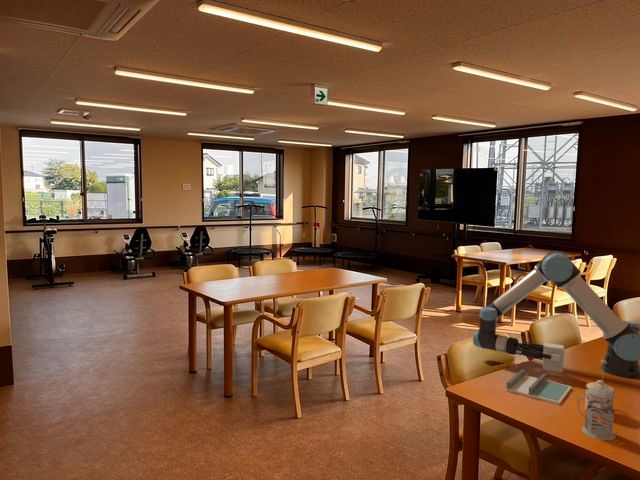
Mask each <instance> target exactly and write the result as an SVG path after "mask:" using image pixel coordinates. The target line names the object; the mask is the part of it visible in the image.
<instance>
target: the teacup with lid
mask: <svg viewBox="0 0 640 480" xmlns="http://www.w3.org/2000/svg"><path fill="white" fill-rule="evenodd" d="M594 387H602V388H605V389H608V390H610V391H612V392H613V393H614V394H615V390H614V388H613V387H612V386H610V385H608V384H606V383H604V381H603V383H602V379H597V381H595V382H589V383H586V385H585V390H586V391H585V397H586V396H587V395H588V397H589V400H588V399H587V397H586V398H584V400H585V401H584V410H585V411H586V412H587V406H588V405H589V404H588V402H589V401H592V400H595V401H600V400H601V401H603V402H605V403H608V404H611V405H612V406H614V405H613V403H614V399H602V398H598V397H595V396H592V395H590V394H589V393H588V389H590V388H594ZM591 409H595V408H593V407H592V408H590V409H589V410H591ZM596 410H598V411H600V412H601V413H603V414H605V415H609V414H607V413H605V412H603V411H601V410H599V409H596ZM593 412H595V413H598V412H596V411H593ZM599 414H600V413H599Z"/></svg>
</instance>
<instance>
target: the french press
mask: <svg viewBox="0 0 640 480" xmlns="http://www.w3.org/2000/svg"><path fill="white" fill-rule="evenodd" d="M601 364H603V370H602V371H604V364H607V361H606V360H603V359H601V361H600V365H601ZM601 375H602V377H601V378H602V379H601V380H602V383H603V382H604V374H601ZM588 393H589V394H590V395H592V396H595V397H598V398H602V399H613V400H614V399H615V398H616V396H617V395H616V394H615V392H614V393H613V392H612V391H610V390H608V389H605V388H602V387H594V388H590V389H588ZM586 397H587V399H588V400H589V397H588V395H587V396H586V394H583V395H581V396H580V397H579V398H578V399H577V404H576V405H577V406H576V407H577V410H578V411H579V414H580V415H581V416H583V417H584V419H585V420H584V426H582V427H581V431H582V432H583V433H584V434H585V435H587V436H588V437H590V438H593V439H597V440H601V441H613V440H615V439H616V434H615V433H614V432H613V428H614V415H615V413H614V410H613V409H614V407H613V406H614V405H613V406H612V405H611V404H608V403H605V402H603V401H601V400H600V401H595V400H592V401H589V402H588V404H589V405H588V406H587V411H586V414H584V413H583V412H582V411H581V410H580V404H581V401H582V400H585V399H586ZM592 407H593V408H595V409H591V410H589V409H590V408H592ZM596 409H599V410H601V411H603V412H605V413H607V414H609V415H605V414H603V413H601V412H600V411H598V410H596ZM593 411H596V412H598V413H595V412H593ZM599 413H600V414H599Z"/></svg>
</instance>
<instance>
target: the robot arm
mask: <svg viewBox="0 0 640 480" xmlns="http://www.w3.org/2000/svg"><path fill="white" fill-rule="evenodd" d="M581 273H582V271H581V270H580V269H579V268H578V267H577V266H576V265H575V264H574V263H573V261H572V260H571V259H570V257H569V256H568V255H567V254H566V253H565V252H563V251H560V250H553V251H549V252H548V253H547V254H545V256H543V257H542V259H541V260H539V262H537V263H536V264H535V265H534V268H533V269H532V270H531V271H530V272H528V274H526V275H524V277H522V278H521V279H520V280H519V281H517V282H516V283H515V284H513V286H511V287H510V288H509V289H507V290H506V291H505V292H504V293H502V294H501V295H500V296H499V297H497V298H496V299H495V300H493V301H492V302H491V303H490V304H488V305H486V306H482V307H480V309H479V315H478V316H479V321H478V322H479V325H478V327H479V329H478V330H476V331H475V332H474V334H473V338H472V343H473V345H474V346H475V347H477V348H479V349H480V348H481V349H483V350H484V349H485V350H490V351H495V352H499V353H500V354H503V353H504V354H508V355H514V356H516V355H517V356H518V355H519V356H523V357H529V358H533V359H536V360H540V361H543V359H548V360H553V361H558V362H560V355H557V354H552V353H547V352H543V350H544V344H538V343H533V342H530V341H529V342H528V341H525V342H520V341H519V339H518V338H516V337H511V336H510V337H509V336H506V335H500V334H497V333H496V332H497V322H498V319H500V318H501V317H502V316H503V315H504V314H506V313H507V312H508V311H510V310H511V309H512V308H513V307H514V306H516V305H517V304H518V303H520V302H521V301H523V300H524V299H525V298H526V297H528V295H530V294H531V293H532V292H534V291H535V290H537V289H539V287H540V286H542V285H543V284H544V283H546V282H552V283H553V284H554V285H555V286H556V288H558V289H563V290H564V291H565V292H566V293H567V295H568V296H569V297H570V298H572V300H573V301H574V302H575V304H577V305H578V307H579V308H580V309H582V311H583V312H584V313H585V314H586V315H587V316H588V317H589V318H590V320H591V321H592V322H593V323H594V324H595V325H596V326H597V327H598V329H600V331H602V333H603V334H602V337H603V339H604V340H605V342H606V343H607V347H606V353H605V356H604V358H603V359H602V360H606V361H607V364H604V370H603V364H601V363H600V365H601V366H600V367H601V370H602V371H603V372H606V373H608V374H610V375H614V376H618V377H623V378H638V377H640V363H639V360H640V324H639V323H637V322H634V321H629V320H621V319H620V317H618V316H617V315H616V313H615V312H614V311H613V310H612V309H611V308H610V306H608V305H607V303H606V302H604V300H603V299H602V298H601V297H600V296H599V295H598V294H597V293H596V292H595V290H593V288H592V287H590V286H589V284H588V283H587V282H586V281H585V280H584V279H583V277H582V276H581ZM564 354H565V350H564Z"/></svg>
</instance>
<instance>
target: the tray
mask: <svg viewBox="0 0 640 480" xmlns="http://www.w3.org/2000/svg"><path fill="white" fill-rule="evenodd" d="M546 376H547V374H545V373H542V374H541V375H540V376H539V377H538V378H537V377H534V376H530V375H526V369H525V368H522V369H520V370H519V371H518V372H517V373H516V374H515V375H514V376H513V377H511V378H510V379H509V380H508V381H507V382H506V392H510V393H513V394H517V395H521V396H525V397H528V398H532V399H536V400H538V401H543V402H547V403H549V404H550V403H551V404H555V405H561V404H562V401H564V399H565V397H567V395H568V394H569V393H570V391H571V390H572V386H570V385H568V384H563V383H559V382H555V381H551V380H546V379H547V377H546Z"/></svg>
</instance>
